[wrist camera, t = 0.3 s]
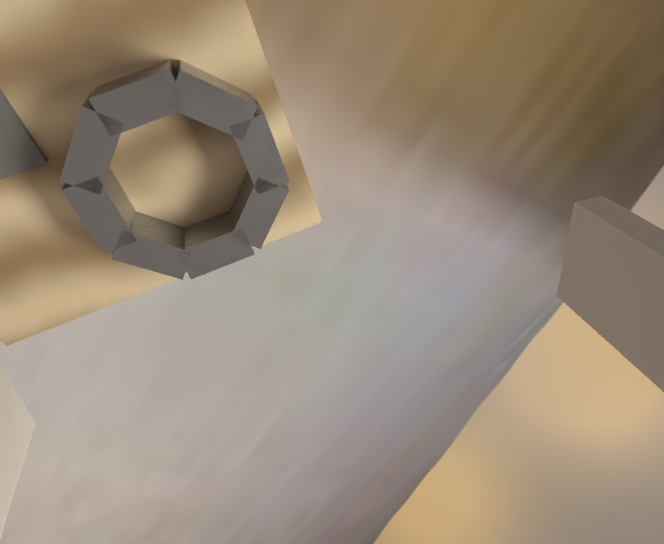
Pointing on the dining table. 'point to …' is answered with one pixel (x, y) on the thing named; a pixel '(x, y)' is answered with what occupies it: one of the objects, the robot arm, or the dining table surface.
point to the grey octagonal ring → (152, 233)
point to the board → (121, 144)
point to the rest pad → (16, 143)
